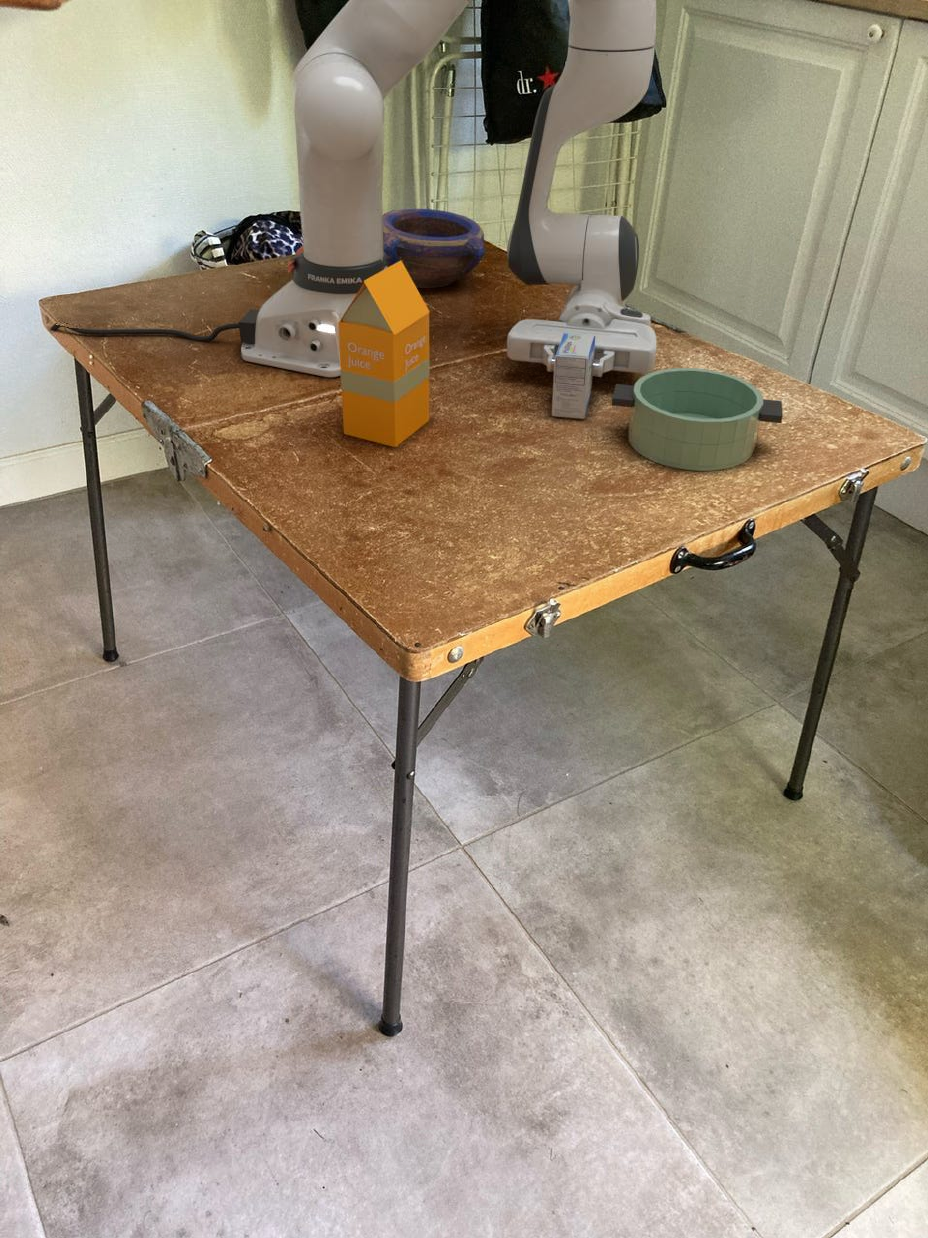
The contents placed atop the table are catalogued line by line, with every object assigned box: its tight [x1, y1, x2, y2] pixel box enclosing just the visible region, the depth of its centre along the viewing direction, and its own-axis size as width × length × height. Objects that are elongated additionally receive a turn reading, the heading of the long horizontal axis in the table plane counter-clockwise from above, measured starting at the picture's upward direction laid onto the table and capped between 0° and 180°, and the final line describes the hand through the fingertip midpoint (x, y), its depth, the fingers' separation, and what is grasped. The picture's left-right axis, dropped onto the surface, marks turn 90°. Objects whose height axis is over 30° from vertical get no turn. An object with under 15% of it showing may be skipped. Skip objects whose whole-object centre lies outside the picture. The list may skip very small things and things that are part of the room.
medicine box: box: [551, 333, 595, 420], centre depth 139 cm, size 8×4×9 cm, turn 168°
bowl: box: [383, 208, 486, 289], centre depth 179 cm, size 18×18×10 cm
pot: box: [627, 367, 764, 472], centre depth 132 cm, size 16×16×6 cm
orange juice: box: [338, 261, 431, 448], centre depth 130 cm, size 8×9×20 cm
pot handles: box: [611, 383, 784, 424], centre depth 131 cm, size 20×4×1 cm, turn 78°
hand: (574, 368), depth 140 cm, fingers closed on medicine box, 4 cm apart
